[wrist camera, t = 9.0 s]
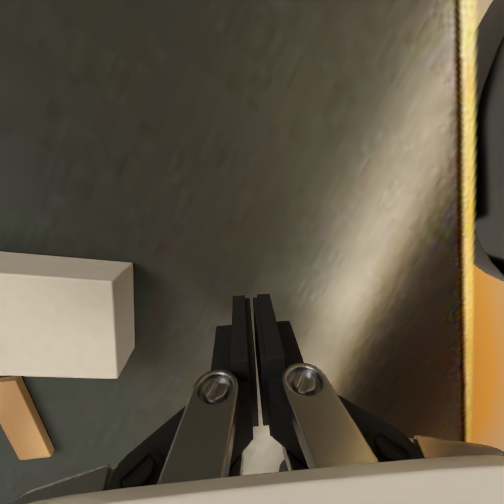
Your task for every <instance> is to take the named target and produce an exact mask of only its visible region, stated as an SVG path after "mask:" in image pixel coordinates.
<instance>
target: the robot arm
mask: <svg viewBox="0 0 504 504" xmlns="http://www.w3.org/2000/svg"><path fill="white" fill-rule="evenodd" d="M253 307H254V327H255V347H256V358H257V368H258V378H259V388H260V398H261V408H262V417H263V426H265V425H269V429H270V436H272V437H273V438H274V439H275V440H277V441H278V442H279V443H280V444H281V445H282V448H283V454H284V457H285V461H286V464H287V467H288V471H285V472H274V473H264V474H254V475H245V476H242V472H243V462H244V449H245V448H246V447H247V446H248V444H249V443H250V442H251V441H252V440H253V427H254V426H259V424H258V404H257V385H256V365H255V352H254V341H253V331H252V320H251V310H250V299H249V298H246V299H245V295H244V296H233V310H232V325H226V326H217V328H216V335H215V343H214V350H213V358H212V365H211V371H210V372H207V373H205V374H204V375H202V376H201V377H200V378H199V379H198V380H197V381H196V383H195V385H194V386H193V389H192V392H191V394H190V397H189V400H188V402H187V405H186V406H185V407H184V408H183V409H181V410H180V411H179V412H178V413H177V414H175V415H174V416H173V417H172V418H171V419H170V420H168V421H167V422H166V423H165V424H164V425H162V426H161V427H160V428H159V429H158V430H156V431H155V432H154V433H153V434H152V435H151V436H149V437H148V438H147V439H146V440H145V441H143V442H142V443H141V444H140V445H139V446H137V447H136V448H135V449H134V450H133V451H131V452H130V453H129V454H128V455H127V456H126V457H125V458H124V459H123V460H122V461H121V462H120V463H119V465H118V466H115V467H112V468H110V465H109V464H107V465H104V466H101V467H98V468H95V469H92V470H89V471H86V472H84V473H81V474H78V475H75V476H72V477H69V478H66V479H63V480H60V481H57V482H54V483H51V484H48V485H45V486H42V487H39V488H36V489H33V490H31V491H29V492H26V493H24V494H22V495H20V496H19V497H17V498H16V499H15V500H14V501H12V502H11V503H10V504H504V452H503V451H501V450H499V449H497V448H493V447H491V446H487V445H481V444H474V443H467V442H461V441H454V440H447V439H440V438H433V437H427V436H420V435H415V436H414V439H412V438H408V437H407V436H406V435H404V434H403V433H402V432H400V431H399V430H397V429H396V428H394V427H392V426H391V425H389V424H387V423H385V422H384V421H382V420H380V419H379V418H377V417H375V416H373V415H372V414H370V413H368V412H367V411H365V410H363V409H361V408H360V407H358V406H356V405H355V404H353V403H351V402H349V401H348V400H346V399H344V398H343V397H341V396H339V395H337V393H336V392H335V390H334V389H333V387H332V385H331V384H330V382H329V381H328V379H327V377H326V376H325V374H324V373H323V372H322V371H321V370H320V369H318V368H317V367H316V366H313V365H311V364H307V363H304V362H303V359H302V356H301V353H300V350H299V347H298V344H297V341H296V338H295V335H294V333H293V330H292V327H291V324H290V322H289V321H280V322H276V318H275V314H274V311H273V307H272V303H271V299H270V295H269V294H258V295H257V298H253Z"/></svg>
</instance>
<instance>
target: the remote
mask: <svg viewBox="0 0 504 504" xmlns="http://www.w3.org/2000/svg"><path fill="white" fill-rule="evenodd" d="M134 347H135V331H134V287H133V263H129V262H118V261H106V260H94V259H83V258H71V257H59V256H48V255H36V254H25V253H13V252H1V251H0V375H2V376H37V377H71V378H106V379H117V378H118V377H119V375H120V373H121V371H122V369H123V367H124V366H125V364H126V362H127V360H128V358H129V357H130V355H131V353H132V351H133V349H134Z"/></svg>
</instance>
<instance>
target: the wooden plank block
mask: <svg viewBox="0 0 504 504" xmlns="http://www.w3.org/2000/svg"><path fill="white" fill-rule="evenodd" d="M0 424H1V426H2V428H3V430H4V431H5V433H6V435H7V437H8V439H9V441H10V443H11V445H12V446H13V448H14V450H15V452H16V454H17V456H18V458H19V460H27V459H35V458H43V457H50V456H51V455H52V454H53V452H54V450H55V449H54V447H53V445H52V443H51V440H50V438H49V436H48V434H47V432H46V429H45V427H44V425H43V423H42V421H41V418H40V416H39V414H38V412H37V410H36V407H35V405H34V403H33V401H32V399H31V396H30V394H29V392H28V390H27V388H26V385H25V383H24V381H23V379H22V377H21V376H9V377H0Z"/></svg>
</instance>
